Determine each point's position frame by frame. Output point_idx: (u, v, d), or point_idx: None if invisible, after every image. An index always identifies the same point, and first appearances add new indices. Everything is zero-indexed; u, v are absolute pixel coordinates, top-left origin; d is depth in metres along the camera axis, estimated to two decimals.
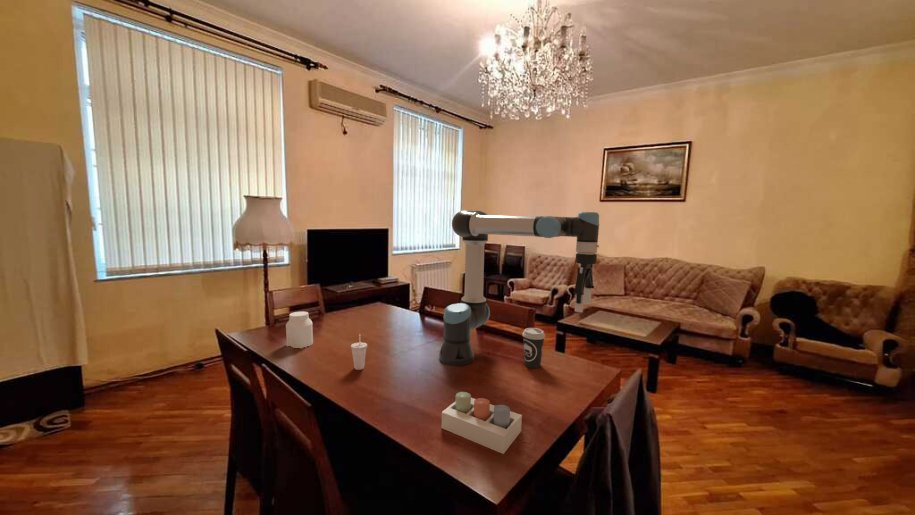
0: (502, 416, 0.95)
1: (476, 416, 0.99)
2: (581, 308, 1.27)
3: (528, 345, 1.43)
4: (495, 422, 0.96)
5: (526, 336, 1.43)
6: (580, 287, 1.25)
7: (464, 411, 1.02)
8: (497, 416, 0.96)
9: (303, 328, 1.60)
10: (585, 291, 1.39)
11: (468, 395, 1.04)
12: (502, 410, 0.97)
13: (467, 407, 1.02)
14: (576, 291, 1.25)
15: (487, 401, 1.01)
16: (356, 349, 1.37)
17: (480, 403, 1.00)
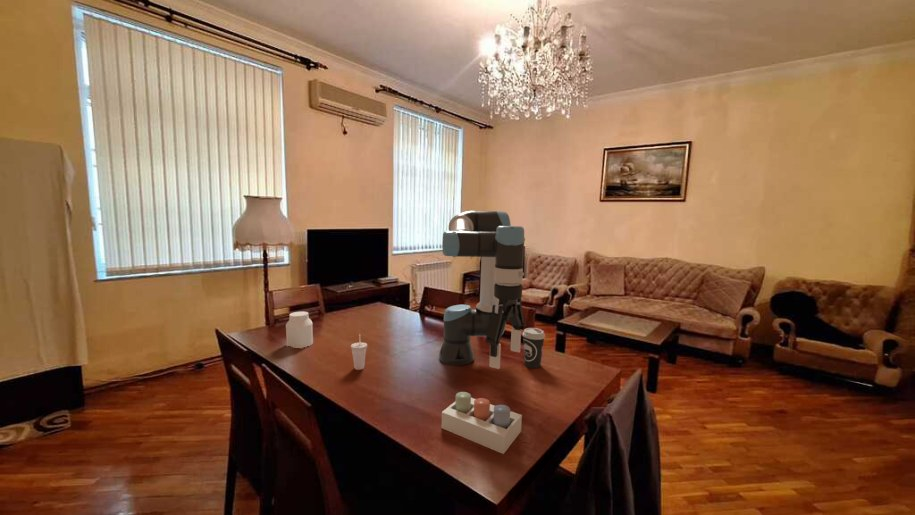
0: (502, 416, 0.95)
1: (476, 416, 0.99)
2: (497, 363, 0.89)
3: (528, 345, 1.43)
4: (495, 422, 0.96)
5: (526, 336, 1.43)
6: (493, 334, 0.87)
7: (464, 411, 1.02)
8: (497, 416, 0.96)
9: (303, 328, 1.60)
10: (513, 333, 1.01)
11: (468, 395, 1.04)
12: (502, 410, 0.97)
13: (467, 407, 1.02)
14: (488, 340, 0.87)
15: (487, 401, 1.01)
16: (356, 349, 1.37)
17: (480, 403, 1.00)
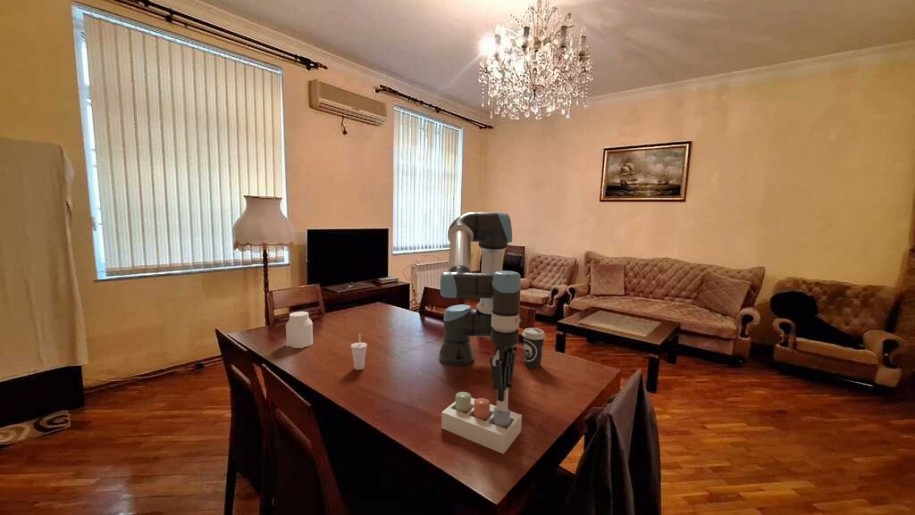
0: (502, 418, 0.95)
1: (476, 416, 0.99)
2: (504, 407, 0.96)
3: (528, 345, 1.43)
4: (495, 423, 0.96)
5: (526, 336, 1.43)
6: (499, 384, 0.92)
7: (464, 411, 1.02)
8: (497, 417, 0.96)
9: (303, 328, 1.60)
10: None
11: (468, 395, 1.04)
12: None
13: (467, 407, 1.02)
14: (495, 388, 0.94)
15: (487, 401, 1.01)
16: (356, 349, 1.37)
17: (480, 403, 1.00)
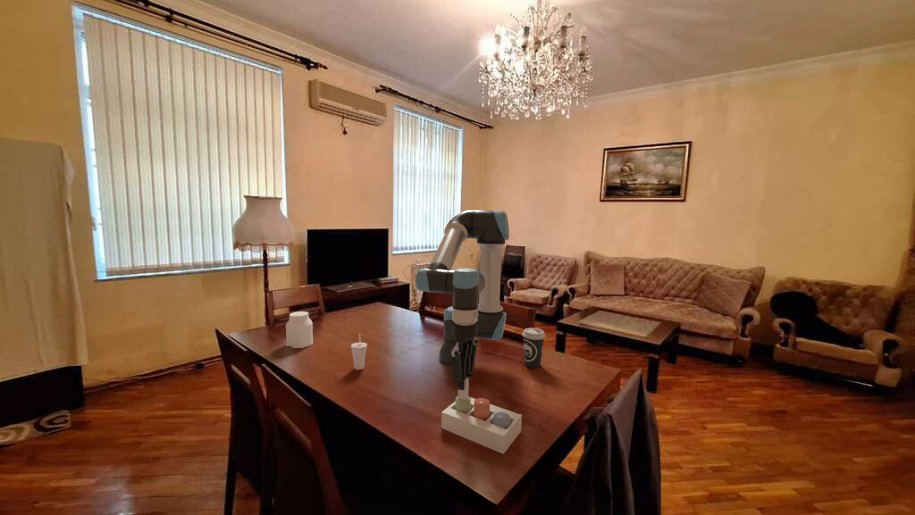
0: (502, 424, 0.95)
1: (476, 416, 0.99)
2: (465, 395, 1.03)
3: (528, 345, 1.43)
4: None
5: (526, 336, 1.43)
6: (458, 374, 0.99)
7: None
8: (497, 423, 0.96)
9: (303, 328, 1.60)
10: None
11: (468, 398, 1.04)
12: (502, 417, 0.97)
13: (467, 410, 1.03)
14: (455, 377, 1.00)
15: (487, 401, 1.01)
16: (356, 349, 1.37)
17: (480, 403, 1.00)
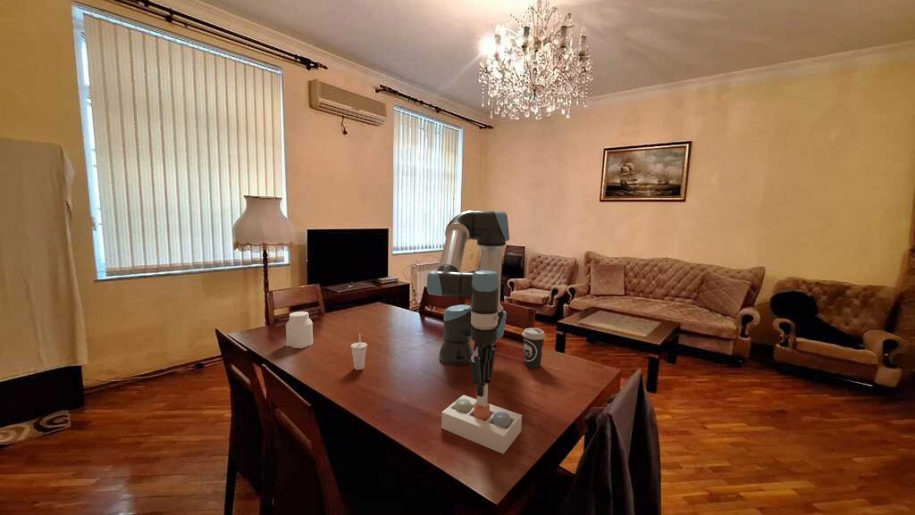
0: (502, 424, 0.95)
1: None
2: (483, 402, 0.99)
3: (528, 345, 1.43)
4: None
5: (527, 336, 1.43)
6: (477, 380, 0.96)
7: None
8: (497, 423, 0.96)
9: (303, 328, 1.60)
10: None
11: (468, 402, 1.05)
12: (502, 417, 0.97)
13: None
14: (475, 383, 0.97)
15: (487, 404, 1.01)
16: (356, 349, 1.37)
17: (480, 406, 1.00)
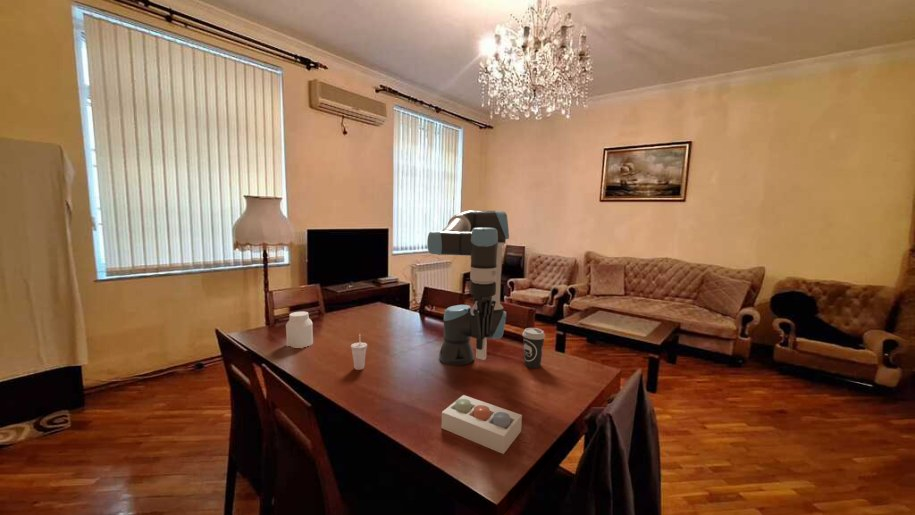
0: (502, 424, 0.95)
1: None
2: (483, 355, 1.03)
3: (528, 345, 1.43)
4: None
5: (526, 336, 1.43)
6: (477, 333, 0.99)
7: None
8: (497, 423, 0.96)
9: (303, 328, 1.60)
10: None
11: (468, 402, 1.05)
12: (502, 417, 0.97)
13: None
14: (474, 336, 1.00)
15: (487, 408, 1.02)
16: (356, 349, 1.37)
17: (480, 410, 1.00)
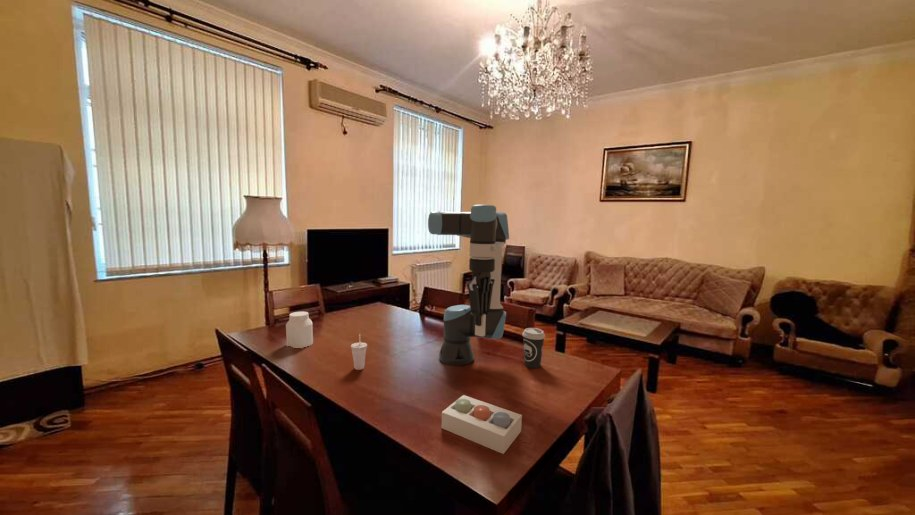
0: (502, 424, 0.95)
1: None
2: (482, 331, 1.04)
3: (528, 345, 1.43)
4: None
5: (526, 336, 1.43)
6: (476, 308, 1.00)
7: None
8: (497, 423, 0.96)
9: (303, 328, 1.60)
10: None
11: (468, 402, 1.05)
12: (502, 417, 0.97)
13: None
14: (473, 312, 1.01)
15: (487, 408, 1.02)
16: (356, 349, 1.37)
17: (480, 410, 1.00)
